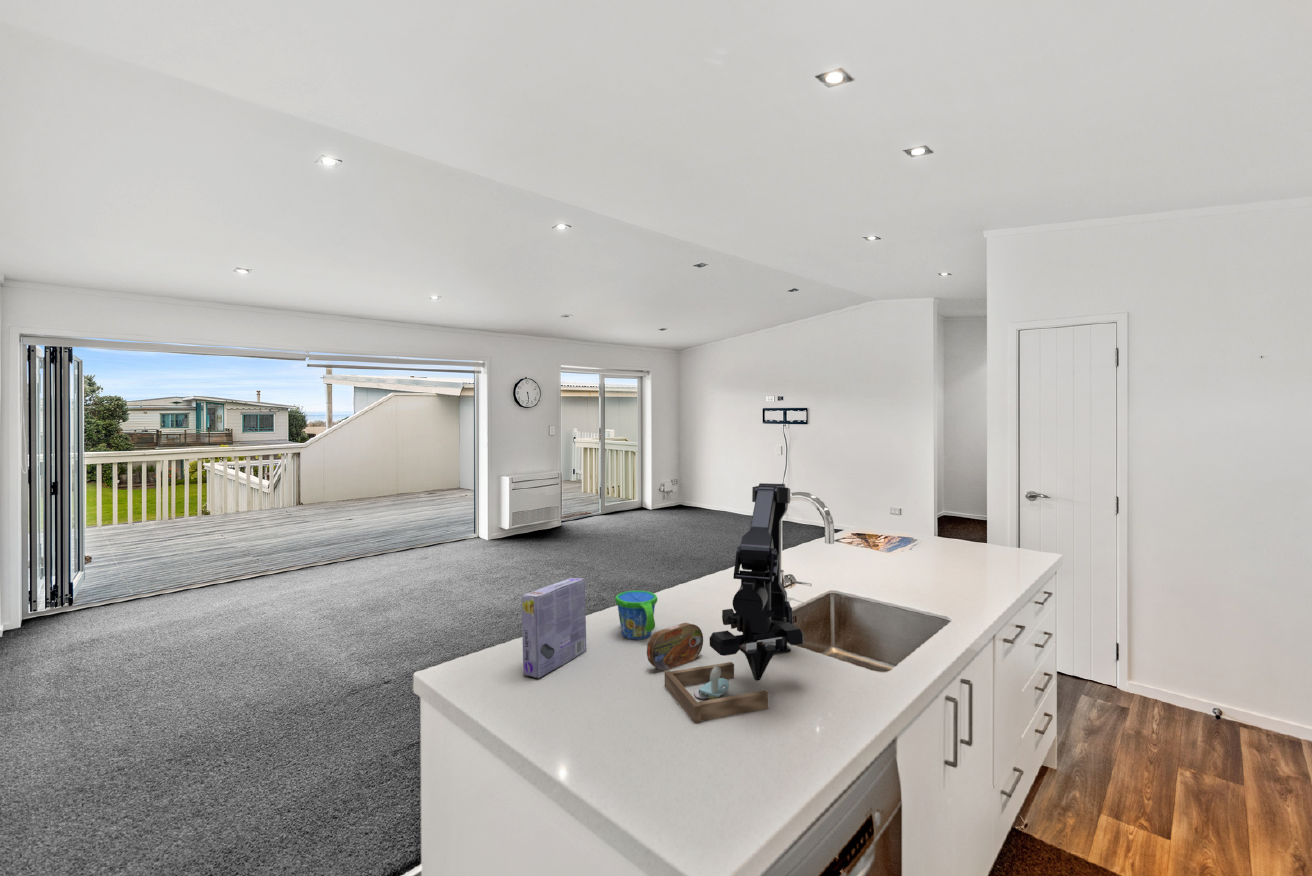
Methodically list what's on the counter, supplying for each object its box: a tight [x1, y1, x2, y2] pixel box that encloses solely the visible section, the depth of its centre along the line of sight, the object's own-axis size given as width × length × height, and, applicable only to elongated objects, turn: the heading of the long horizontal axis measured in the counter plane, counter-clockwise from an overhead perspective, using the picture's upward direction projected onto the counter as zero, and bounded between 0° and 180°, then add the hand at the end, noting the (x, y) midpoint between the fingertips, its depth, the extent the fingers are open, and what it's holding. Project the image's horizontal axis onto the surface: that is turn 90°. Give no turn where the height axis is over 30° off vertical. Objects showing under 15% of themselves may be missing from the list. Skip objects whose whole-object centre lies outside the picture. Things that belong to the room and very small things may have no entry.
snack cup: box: [614, 590, 658, 640], centre depth 150 cm, size 16×10×10 cm
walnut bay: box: [663, 661, 769, 724], centre depth 115 cm, size 15×16×3 cm
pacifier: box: [694, 665, 730, 700], centre depth 116 cm, size 7×6×6 cm
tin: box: [646, 622, 704, 671], centre depth 132 cm, size 15×3×8 cm, turn 128°
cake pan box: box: [521, 577, 587, 679], centre depth 133 cm, size 19×5×18 cm, turn 152°
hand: (757, 680), depth 118 cm, fingers closed
